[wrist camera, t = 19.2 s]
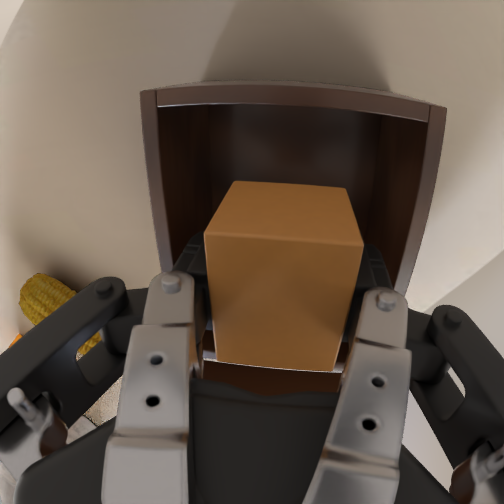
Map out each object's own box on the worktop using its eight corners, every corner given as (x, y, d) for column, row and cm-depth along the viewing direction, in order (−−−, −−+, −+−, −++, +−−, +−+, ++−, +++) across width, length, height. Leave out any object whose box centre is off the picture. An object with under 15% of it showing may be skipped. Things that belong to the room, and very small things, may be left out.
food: (41, 288, 32) (13, 320, 27) (43, 255, 29) (10, 288, 24) (192, 375, 35) (178, 417, 30) (211, 351, 32) (196, 397, 27)
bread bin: (199, 81, 19) (138, 91, 12) (392, 92, 17) (447, 107, 10) (210, 275, 27) (178, 354, 20) (360, 287, 26) (375, 372, 18)
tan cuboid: (233, 179, 11) (202, 232, 8) (346, 187, 11) (365, 244, 7) (236, 291, 14) (216, 361, 11) (329, 298, 13) (333, 372, 10)
